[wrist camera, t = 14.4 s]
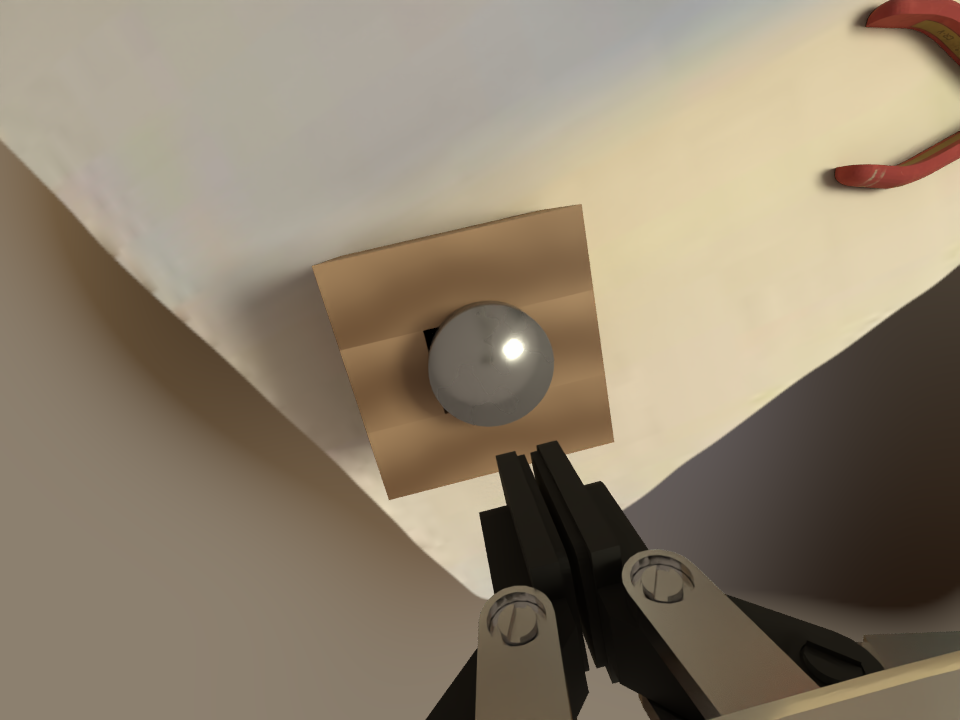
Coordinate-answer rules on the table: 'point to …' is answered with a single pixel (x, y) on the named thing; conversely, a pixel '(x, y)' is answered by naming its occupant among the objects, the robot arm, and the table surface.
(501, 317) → the grey metal rounded piece
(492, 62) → the table surface
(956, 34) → the pliers
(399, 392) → the socket block
